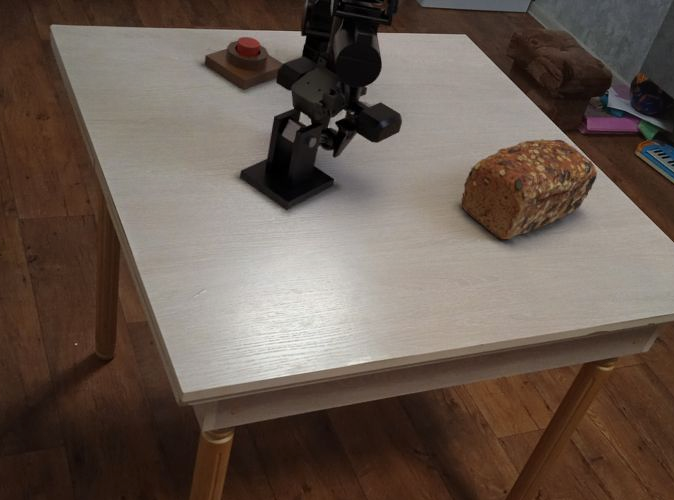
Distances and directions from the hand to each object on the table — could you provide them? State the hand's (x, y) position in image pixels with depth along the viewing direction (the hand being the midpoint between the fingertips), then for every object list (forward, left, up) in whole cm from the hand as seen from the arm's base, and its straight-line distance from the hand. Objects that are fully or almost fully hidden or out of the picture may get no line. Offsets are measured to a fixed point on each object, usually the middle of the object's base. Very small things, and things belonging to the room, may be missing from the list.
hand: (326, 151), depth 121 cm
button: (-10, -26, +1) cm, 28 cm away
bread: (-17, +25, -2) cm, 30 cm away
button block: (-10, -26, -2) cm, 28 cm away
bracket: (+8, 0, -2) cm, 8 cm away
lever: (+5, 0, +2) cm, 5 cm away
